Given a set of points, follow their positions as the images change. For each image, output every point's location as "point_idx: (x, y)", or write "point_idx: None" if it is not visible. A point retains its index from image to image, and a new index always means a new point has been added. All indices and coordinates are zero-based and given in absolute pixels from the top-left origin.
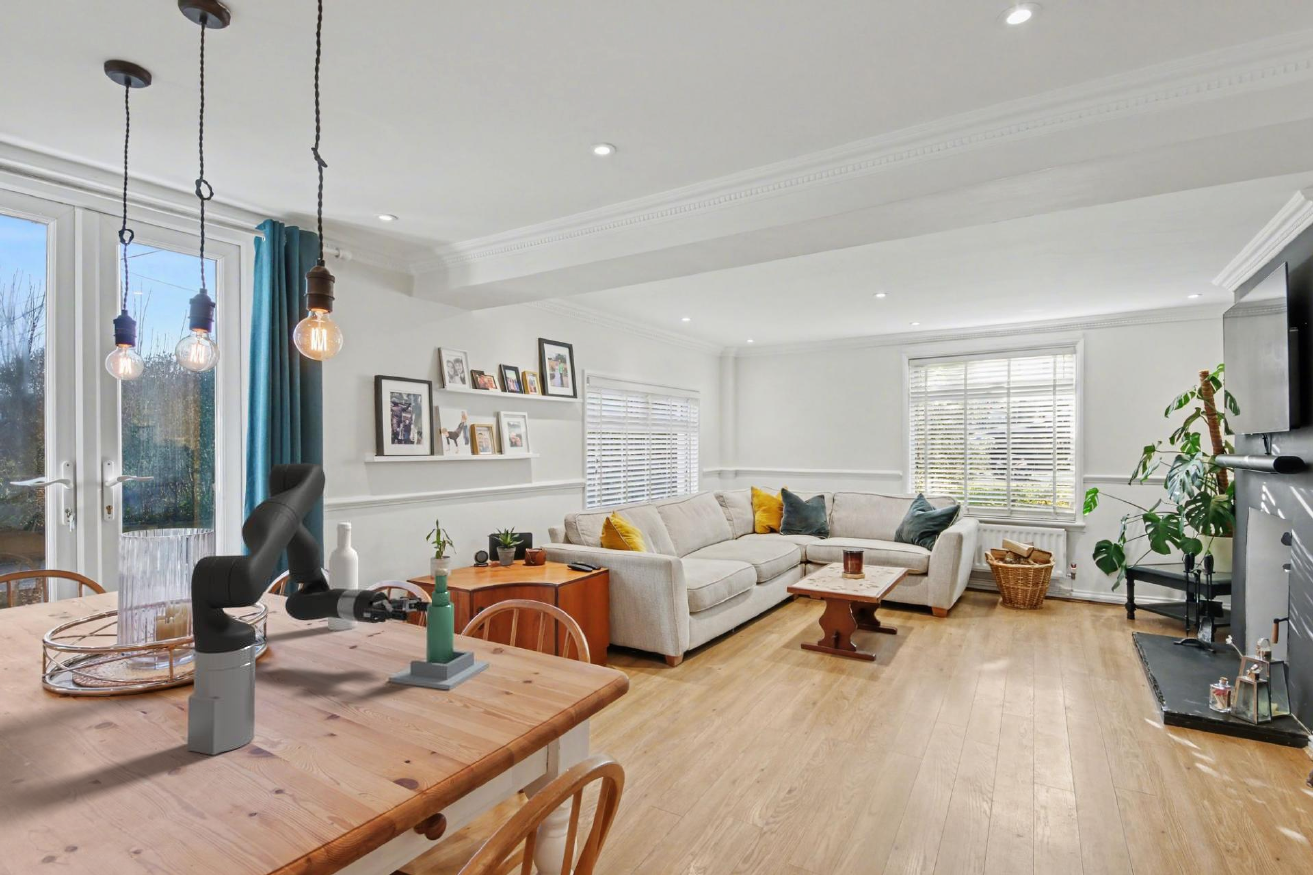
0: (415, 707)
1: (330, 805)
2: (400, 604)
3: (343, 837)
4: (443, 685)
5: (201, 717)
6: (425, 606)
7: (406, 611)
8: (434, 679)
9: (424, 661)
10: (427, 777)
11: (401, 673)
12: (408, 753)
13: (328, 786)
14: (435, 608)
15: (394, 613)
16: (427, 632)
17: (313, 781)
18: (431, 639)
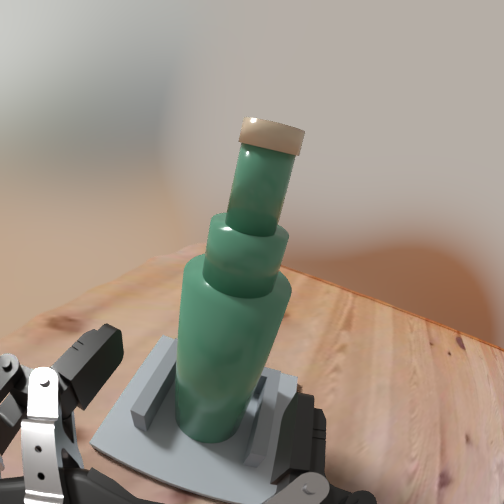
0: (374, 402)
1: (494, 365)
2: (109, 478)
3: (494, 346)
4: (295, 389)
5: None
6: (106, 357)
7: (309, 395)
8: (275, 410)
9: (137, 459)
10: (450, 335)
11: (247, 492)
12: (443, 358)
13: (492, 378)
14: (289, 288)
15: (324, 456)
16: (251, 381)
17: (497, 390)
18: (259, 378)
